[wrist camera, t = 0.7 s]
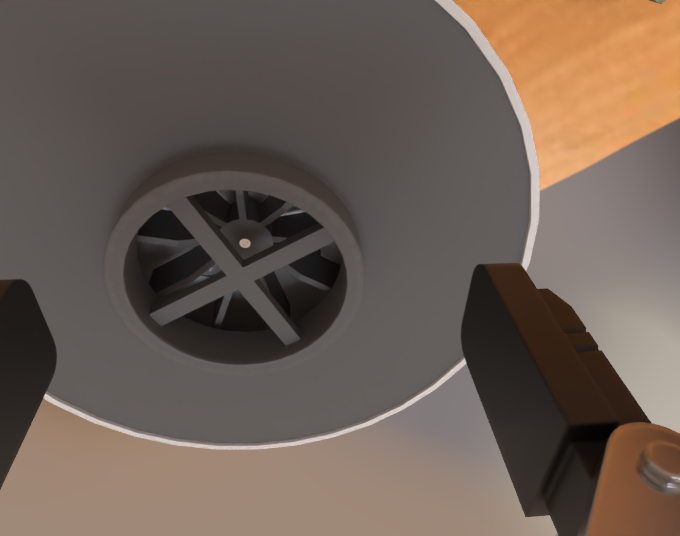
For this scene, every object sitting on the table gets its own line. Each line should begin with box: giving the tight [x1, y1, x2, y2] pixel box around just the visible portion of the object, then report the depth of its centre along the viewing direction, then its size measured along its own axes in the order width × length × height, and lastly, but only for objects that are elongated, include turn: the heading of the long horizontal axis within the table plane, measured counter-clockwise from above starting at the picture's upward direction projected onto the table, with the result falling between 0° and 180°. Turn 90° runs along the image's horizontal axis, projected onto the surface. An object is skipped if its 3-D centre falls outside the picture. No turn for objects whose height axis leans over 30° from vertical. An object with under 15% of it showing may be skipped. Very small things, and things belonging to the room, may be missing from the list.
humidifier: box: [0, 0, 540, 449], centre depth 26 cm, size 22×21×23 cm
